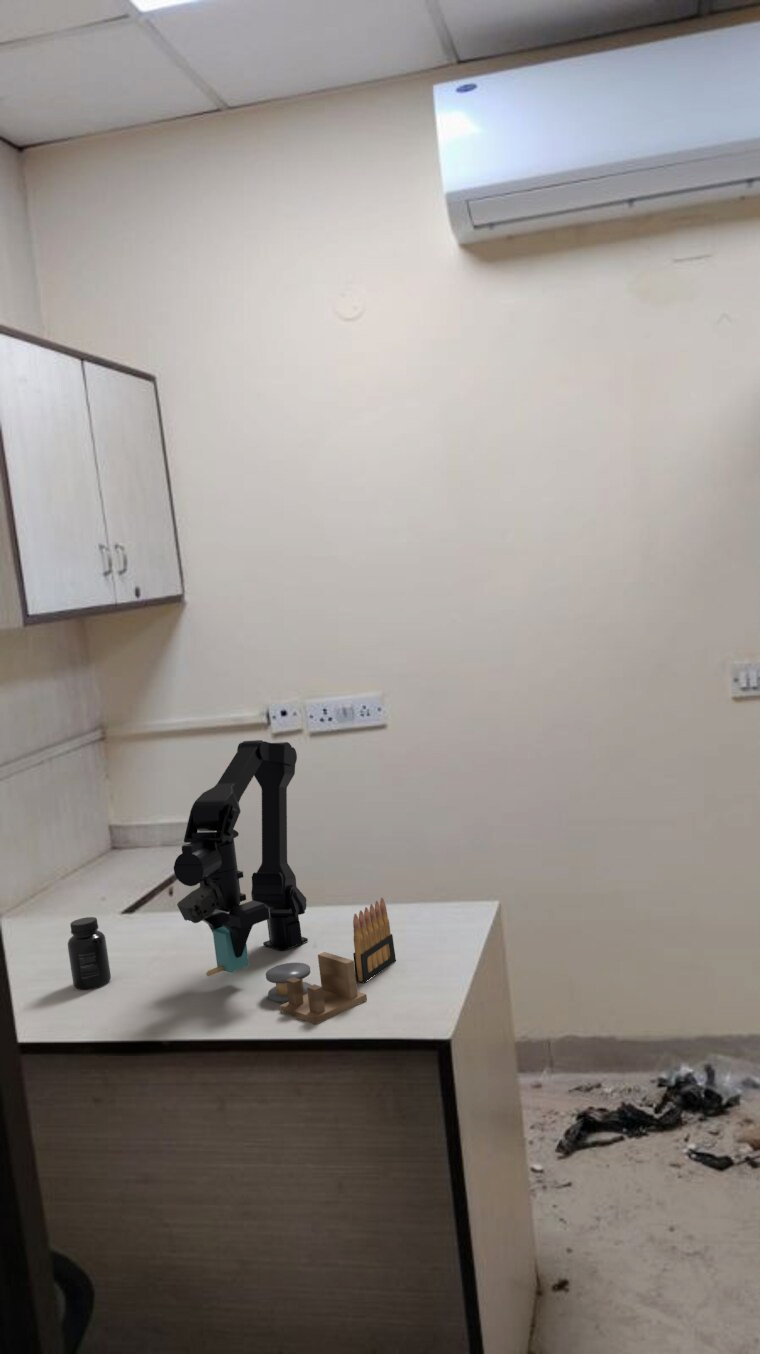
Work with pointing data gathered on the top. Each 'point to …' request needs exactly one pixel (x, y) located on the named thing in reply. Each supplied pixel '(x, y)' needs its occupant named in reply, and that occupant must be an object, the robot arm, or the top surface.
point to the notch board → (325, 991)
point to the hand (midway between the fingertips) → (231, 954)
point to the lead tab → (227, 953)
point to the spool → (284, 973)
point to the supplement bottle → (88, 955)
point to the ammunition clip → (372, 942)
